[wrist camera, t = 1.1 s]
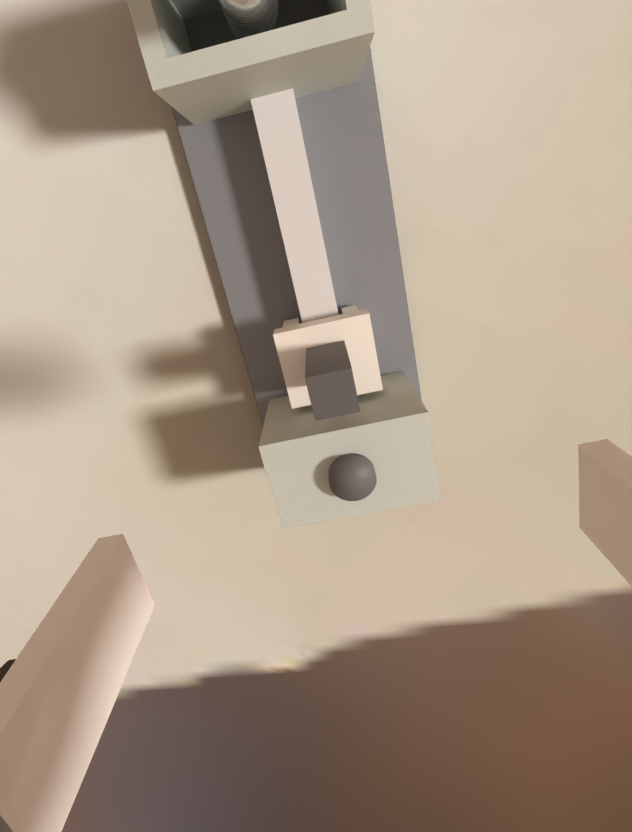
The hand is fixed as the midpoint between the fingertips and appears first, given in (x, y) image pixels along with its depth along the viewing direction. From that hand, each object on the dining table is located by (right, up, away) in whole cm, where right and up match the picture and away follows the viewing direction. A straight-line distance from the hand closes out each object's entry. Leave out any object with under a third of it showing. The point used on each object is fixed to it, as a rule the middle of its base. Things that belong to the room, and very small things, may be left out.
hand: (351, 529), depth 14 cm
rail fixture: (-1, +14, +19) cm, 23 cm away
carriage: (0, +8, +20) cm, 21 cm away
